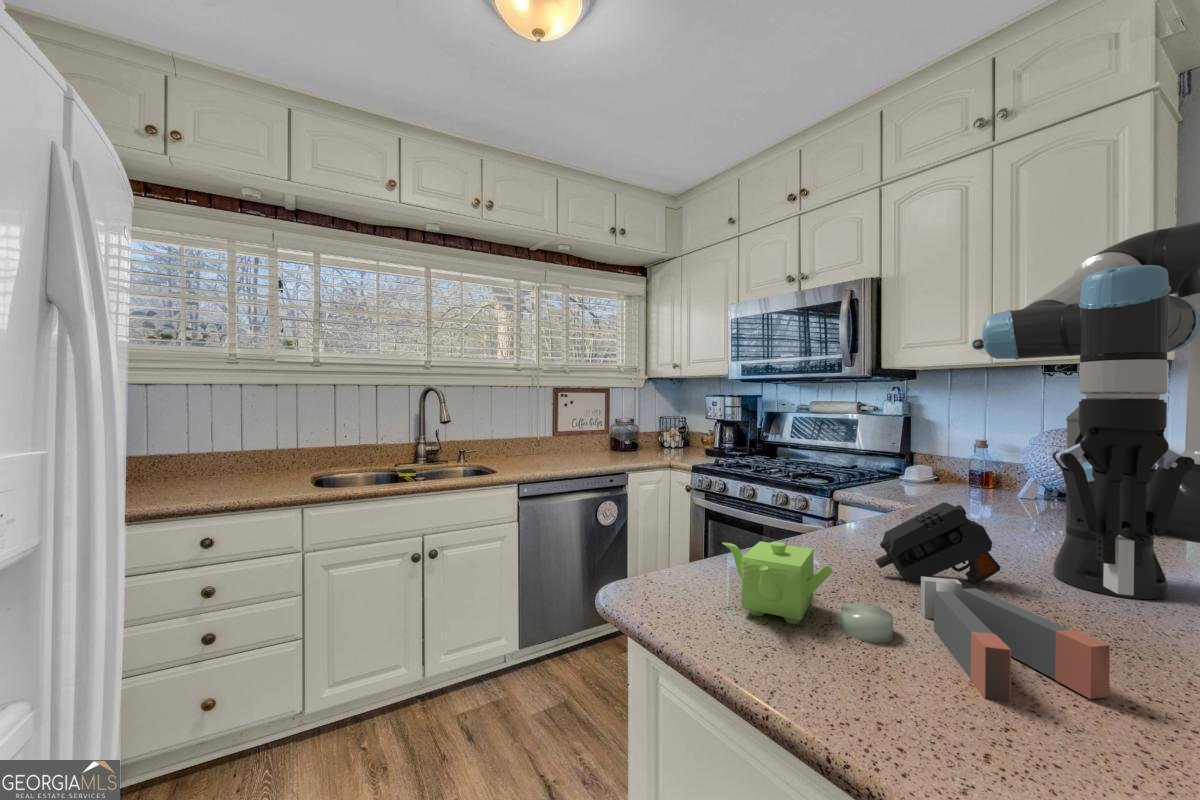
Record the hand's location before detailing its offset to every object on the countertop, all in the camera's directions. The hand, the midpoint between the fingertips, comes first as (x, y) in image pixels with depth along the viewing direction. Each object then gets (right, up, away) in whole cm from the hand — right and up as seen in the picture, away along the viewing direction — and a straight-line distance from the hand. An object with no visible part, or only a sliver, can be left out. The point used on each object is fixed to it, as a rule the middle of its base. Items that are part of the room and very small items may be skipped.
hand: (1118, 590), depth 63 cm
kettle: (-34, -12, +22) cm, 43 cm away
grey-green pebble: (-23, -12, +15) cm, 30 cm away
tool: (+1, -11, +36) cm, 38 cm away
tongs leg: (-6, -11, +6) cm, 14 cm away
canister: (+65, -11, +70) cm, 97 cm away
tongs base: (-12, -12, +9) cm, 19 cm away
